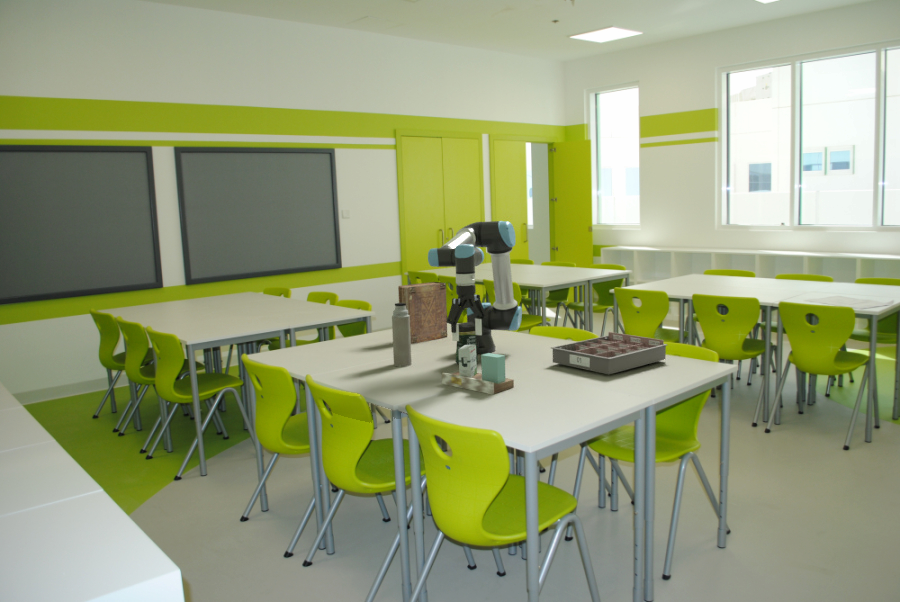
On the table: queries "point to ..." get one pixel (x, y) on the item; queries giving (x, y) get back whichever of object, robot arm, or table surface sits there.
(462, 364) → the ink box
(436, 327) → the book
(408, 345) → the thermos bottle
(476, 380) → the brown flat block
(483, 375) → the teal block
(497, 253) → the robot arm
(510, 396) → the table surface
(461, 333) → the coffee jar
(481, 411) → the table surface
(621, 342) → the organizer tray
